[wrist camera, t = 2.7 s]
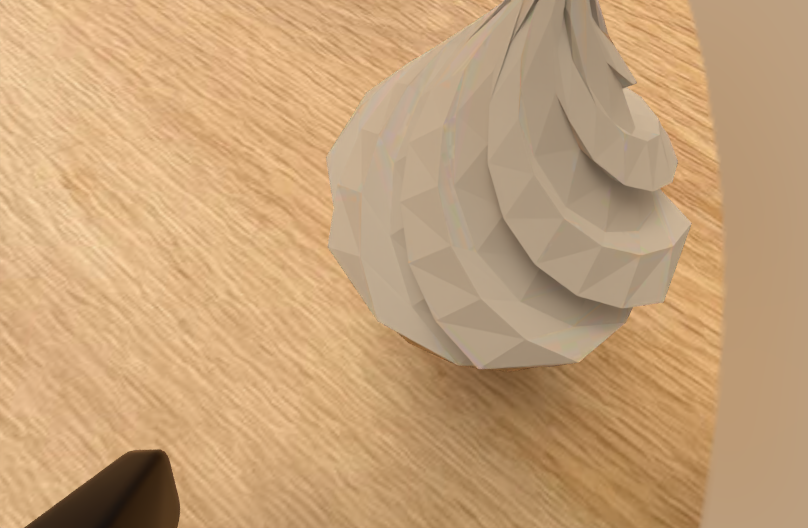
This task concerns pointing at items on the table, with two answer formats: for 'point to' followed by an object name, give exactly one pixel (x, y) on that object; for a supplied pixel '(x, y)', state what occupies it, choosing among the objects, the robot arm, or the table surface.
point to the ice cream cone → (508, 192)
